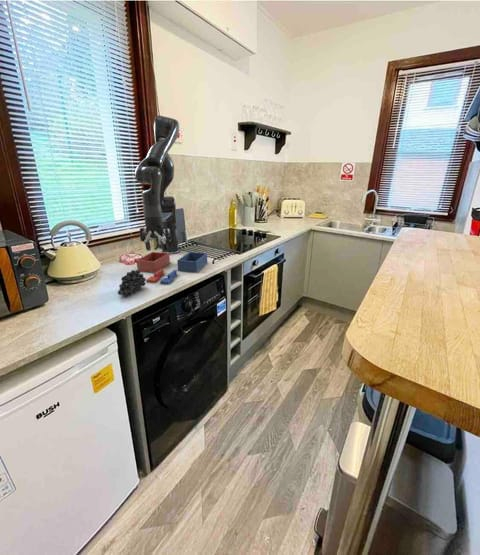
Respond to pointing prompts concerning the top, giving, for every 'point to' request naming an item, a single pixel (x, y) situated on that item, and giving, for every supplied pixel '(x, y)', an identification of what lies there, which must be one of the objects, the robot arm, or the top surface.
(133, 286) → the fruit
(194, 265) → the blue bin
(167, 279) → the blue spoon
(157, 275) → the red lumpy bar
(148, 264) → the red bin
